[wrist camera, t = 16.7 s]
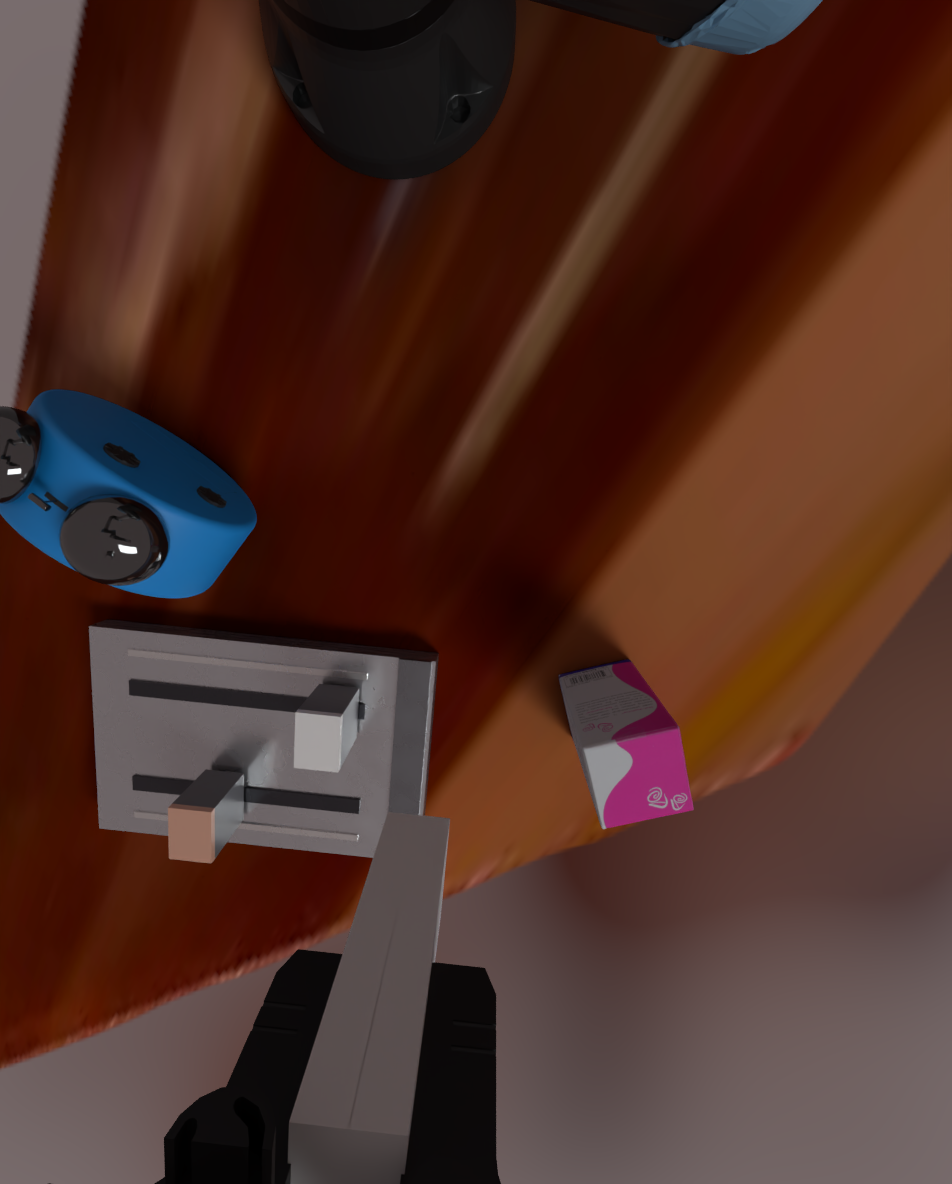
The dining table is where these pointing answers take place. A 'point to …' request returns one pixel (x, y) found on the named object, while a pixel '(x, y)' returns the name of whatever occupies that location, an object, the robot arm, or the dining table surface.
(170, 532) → the alarm clock
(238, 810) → the fader terracotta
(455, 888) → the dining table surface
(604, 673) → the supplement box
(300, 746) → the fader white
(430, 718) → the console
